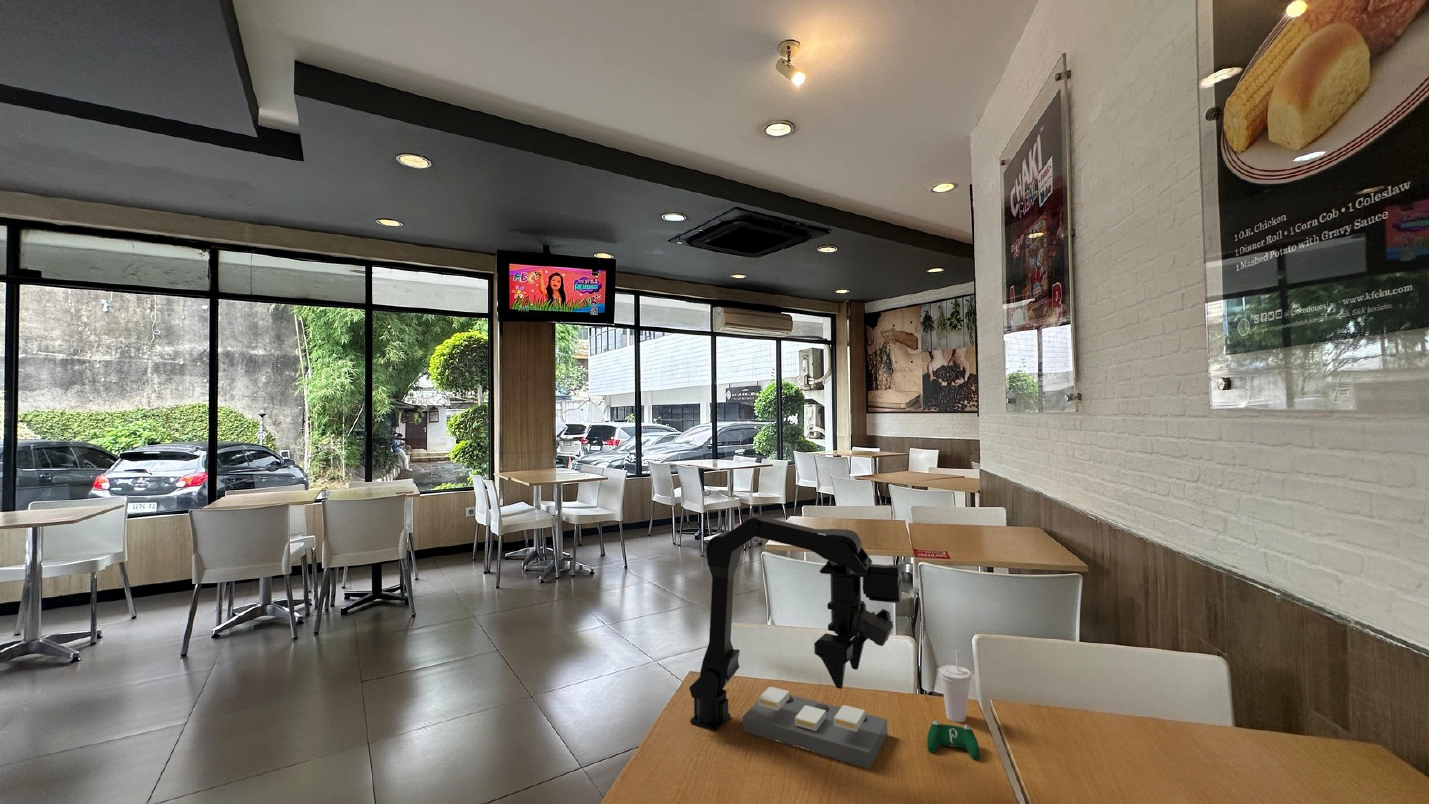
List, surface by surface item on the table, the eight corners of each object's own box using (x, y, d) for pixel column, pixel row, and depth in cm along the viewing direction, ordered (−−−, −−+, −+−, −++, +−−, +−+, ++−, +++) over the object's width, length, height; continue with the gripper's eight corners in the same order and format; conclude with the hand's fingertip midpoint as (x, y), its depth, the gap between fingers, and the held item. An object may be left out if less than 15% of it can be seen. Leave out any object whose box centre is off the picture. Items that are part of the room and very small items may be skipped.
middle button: (794, 725, 115) (794, 717, 115) (805, 712, 120) (805, 705, 120) (816, 731, 112) (815, 723, 112) (826, 717, 117) (825, 710, 117)
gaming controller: (979, 765, 110) (976, 730, 114) (980, 758, 107) (977, 723, 111) (927, 756, 113) (926, 723, 117) (927, 750, 110) (926, 716, 114)
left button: (758, 705, 119) (758, 698, 119) (770, 693, 124) (769, 686, 124) (777, 710, 116) (777, 703, 117) (789, 698, 121) (789, 691, 121)
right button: (833, 725, 111) (833, 718, 111) (843, 712, 116) (843, 704, 116) (856, 732, 108) (856, 724, 108) (865, 717, 113) (865, 710, 113)
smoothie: (975, 726, 119) (974, 658, 119) (942, 723, 120) (941, 656, 121) (968, 710, 125) (967, 645, 126) (937, 708, 127) (936, 643, 127)
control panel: (742, 731, 119) (742, 715, 119) (769, 703, 130) (769, 688, 130) (869, 769, 106) (869, 751, 106) (887, 734, 117) (887, 718, 117)
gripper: (872, 619, 100) (874, 710, 100) (900, 590, 116) (902, 669, 116) (812, 608, 106) (814, 694, 106) (846, 582, 122) (847, 657, 122)
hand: (847, 678), depth 112 cm, fingers open, 9 cm apart
